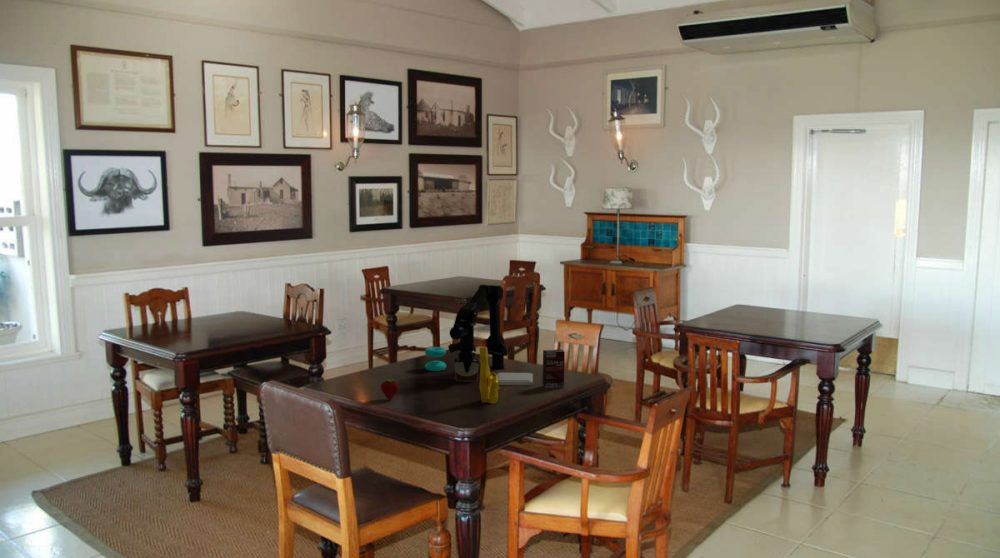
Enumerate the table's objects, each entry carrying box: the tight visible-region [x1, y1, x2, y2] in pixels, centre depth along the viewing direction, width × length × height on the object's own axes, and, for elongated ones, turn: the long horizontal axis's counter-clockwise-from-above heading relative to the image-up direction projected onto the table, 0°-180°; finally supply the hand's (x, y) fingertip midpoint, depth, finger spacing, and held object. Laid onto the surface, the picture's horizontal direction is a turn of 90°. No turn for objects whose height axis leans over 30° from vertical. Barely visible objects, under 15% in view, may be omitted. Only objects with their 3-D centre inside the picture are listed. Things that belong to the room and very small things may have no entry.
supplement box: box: [542, 349, 566, 389], centre depth 337 cm, size 9×5×16 cm, turn 102°
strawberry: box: [380, 378, 400, 401], centre depth 317 cm, size 6×8×10 cm
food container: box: [452, 356, 480, 382], centre depth 350 cm, size 12×6×10 cm, turn 84°
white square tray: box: [496, 372, 534, 386], centre depth 349 cm, size 16×16×2 cm
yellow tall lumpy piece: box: [479, 346, 501, 405], centre depth 313 cm, size 18×8×22 cm, turn 166°
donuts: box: [424, 346, 447, 372], centre depth 371 cm, size 10×10×10 cm
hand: (467, 370), depth 350 cm, fingers closed on food container, 6 cm apart
